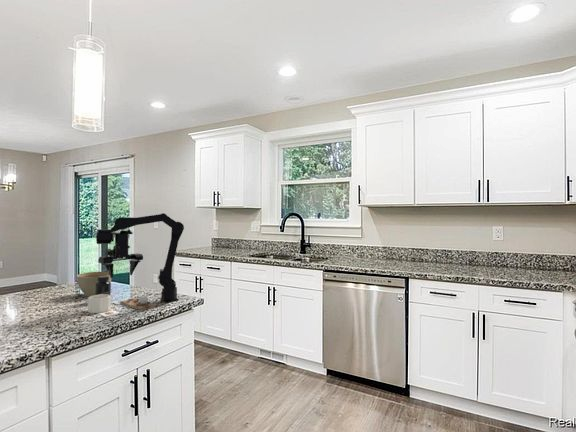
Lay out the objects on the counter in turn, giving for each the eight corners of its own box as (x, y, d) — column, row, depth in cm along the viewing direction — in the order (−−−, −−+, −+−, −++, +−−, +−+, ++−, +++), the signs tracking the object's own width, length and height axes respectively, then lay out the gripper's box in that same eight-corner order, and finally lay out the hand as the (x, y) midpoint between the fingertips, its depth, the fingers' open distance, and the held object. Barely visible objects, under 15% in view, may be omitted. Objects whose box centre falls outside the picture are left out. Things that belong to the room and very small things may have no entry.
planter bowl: (68, 297, 167) (68, 276, 166) (93, 290, 182) (94, 270, 182) (95, 299, 163) (95, 277, 163) (118, 292, 179) (119, 272, 179)
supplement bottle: (103, 303, 157) (103, 278, 157) (91, 302, 158) (91, 277, 158) (113, 299, 163) (114, 275, 163) (102, 298, 165) (102, 274, 165)
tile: (113, 311, 144) (113, 309, 144) (119, 313, 141) (119, 312, 141) (98, 314, 139) (98, 313, 139) (105, 317, 136) (105, 315, 136)
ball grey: (145, 302, 154) (145, 294, 154) (149, 304, 152) (149, 295, 152) (136, 304, 151) (136, 295, 151) (141, 306, 149) (141, 297, 149)
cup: (105, 306, 151) (105, 293, 151) (113, 309, 146) (114, 296, 146) (85, 310, 144) (85, 296, 144) (93, 314, 139) (93, 300, 139)
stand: (136, 300, 163) (136, 296, 163) (156, 306, 152) (156, 303, 152) (120, 303, 157) (120, 300, 157) (140, 310, 146) (140, 306, 146)
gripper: (132, 241, 168) (131, 272, 168) (93, 243, 153) (92, 277, 153) (143, 242, 162) (143, 274, 162) (104, 245, 147) (103, 280, 147)
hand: (121, 276), depth 156 cm, fingers open, 9 cm apart
